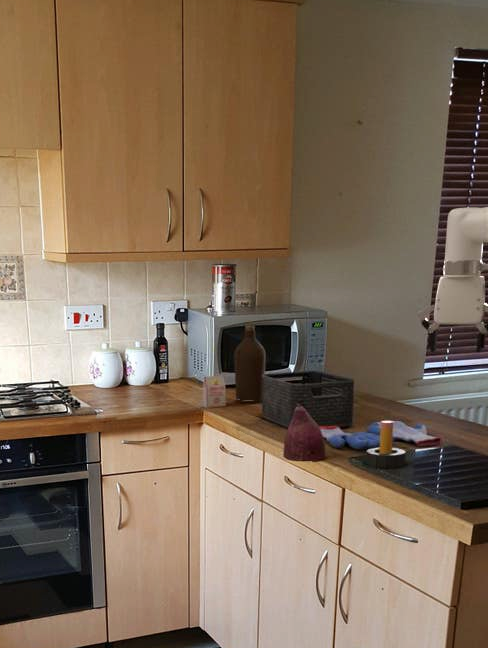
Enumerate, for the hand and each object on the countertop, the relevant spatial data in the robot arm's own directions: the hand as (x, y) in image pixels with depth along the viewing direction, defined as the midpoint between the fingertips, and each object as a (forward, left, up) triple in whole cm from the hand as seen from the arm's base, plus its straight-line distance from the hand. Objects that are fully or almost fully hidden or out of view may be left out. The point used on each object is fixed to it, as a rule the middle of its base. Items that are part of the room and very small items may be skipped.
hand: (455, 351), depth 193 cm
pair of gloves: (+21, -26, -26) cm, 43 cm away
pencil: (+14, 0, -26) cm, 30 cm away
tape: (+14, 0, -26) cm, 30 cm away
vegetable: (+34, -1, -26) cm, 43 cm away
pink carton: (+84, -66, -26) cm, 110 cm away
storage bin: (+47, -47, -26) cm, 72 cm away
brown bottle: (+76, -79, -26) cm, 113 cm away
